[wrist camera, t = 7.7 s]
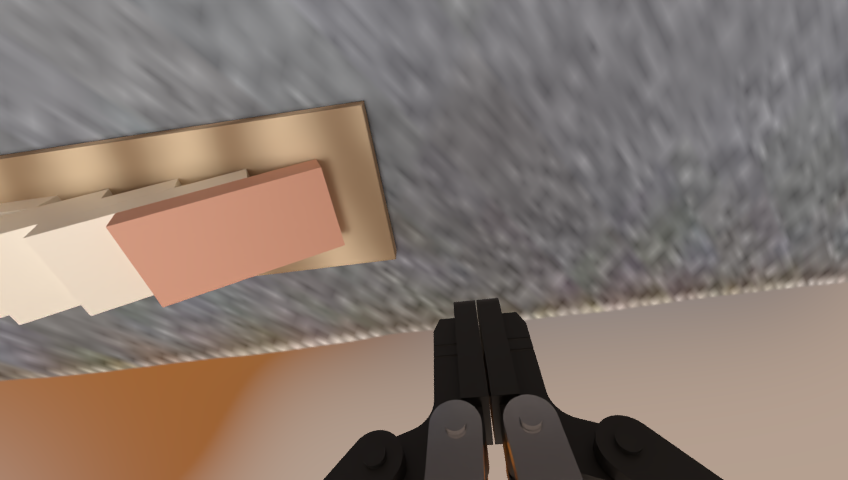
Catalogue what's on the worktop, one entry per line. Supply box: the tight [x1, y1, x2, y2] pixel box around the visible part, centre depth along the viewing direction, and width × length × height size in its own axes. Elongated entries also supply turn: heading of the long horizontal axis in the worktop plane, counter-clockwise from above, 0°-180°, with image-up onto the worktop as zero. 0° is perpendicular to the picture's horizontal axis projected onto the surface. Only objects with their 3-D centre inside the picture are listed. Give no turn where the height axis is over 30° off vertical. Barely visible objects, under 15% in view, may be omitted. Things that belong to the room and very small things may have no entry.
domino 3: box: [106, 159, 345, 307], centre depth 20 cm, size 2×5×10 cm
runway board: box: [0, 101, 397, 276], centre depth 23 cm, size 28×10×1 cm, turn 98°
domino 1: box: [0, 179, 182, 325], centre depth 21 cm, size 2×5×10 cm
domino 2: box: [23, 169, 250, 316], centre depth 20 cm, size 2×5×10 cm
